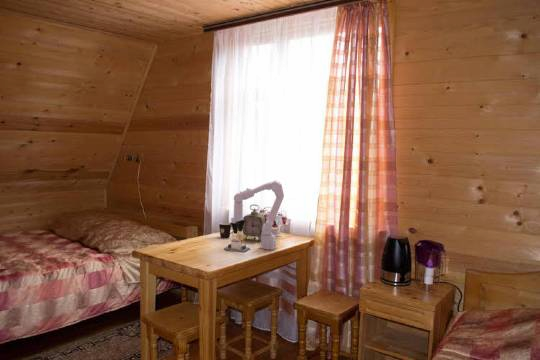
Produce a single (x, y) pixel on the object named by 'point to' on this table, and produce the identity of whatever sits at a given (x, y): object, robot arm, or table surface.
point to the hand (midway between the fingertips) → (237, 232)
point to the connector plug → (236, 244)
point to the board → (242, 249)
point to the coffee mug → (225, 229)
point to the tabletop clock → (253, 224)
